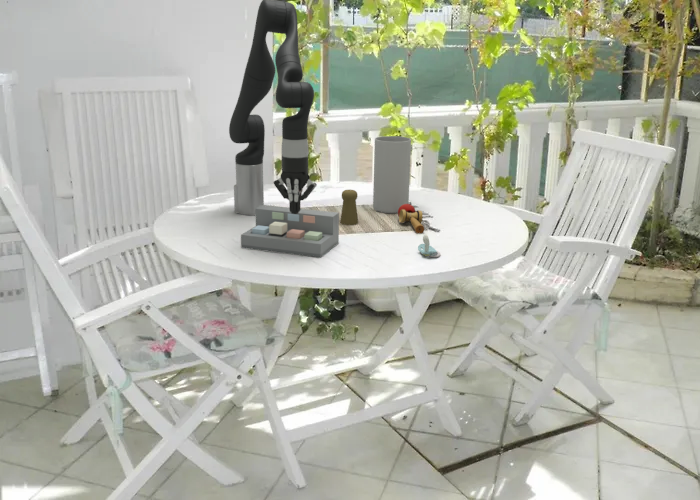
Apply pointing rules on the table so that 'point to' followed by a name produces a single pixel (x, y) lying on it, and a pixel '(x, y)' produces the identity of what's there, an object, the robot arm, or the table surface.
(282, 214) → the keypad
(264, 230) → the key blue
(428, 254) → the pacifier
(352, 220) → the olive ball-ended cylinder
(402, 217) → the kendama
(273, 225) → the key cream
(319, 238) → the key sage
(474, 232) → the table surface
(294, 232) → the key coral
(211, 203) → the table surface
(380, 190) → the cylinder vase
